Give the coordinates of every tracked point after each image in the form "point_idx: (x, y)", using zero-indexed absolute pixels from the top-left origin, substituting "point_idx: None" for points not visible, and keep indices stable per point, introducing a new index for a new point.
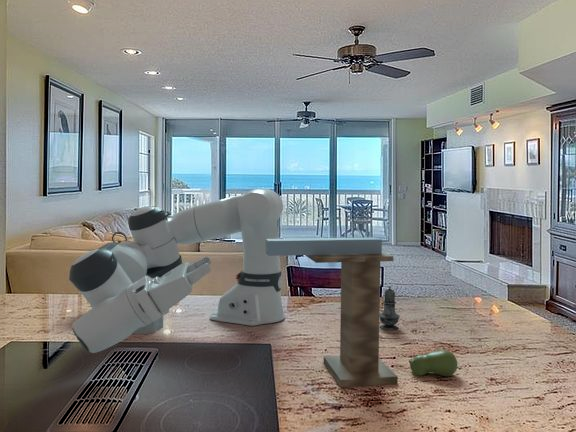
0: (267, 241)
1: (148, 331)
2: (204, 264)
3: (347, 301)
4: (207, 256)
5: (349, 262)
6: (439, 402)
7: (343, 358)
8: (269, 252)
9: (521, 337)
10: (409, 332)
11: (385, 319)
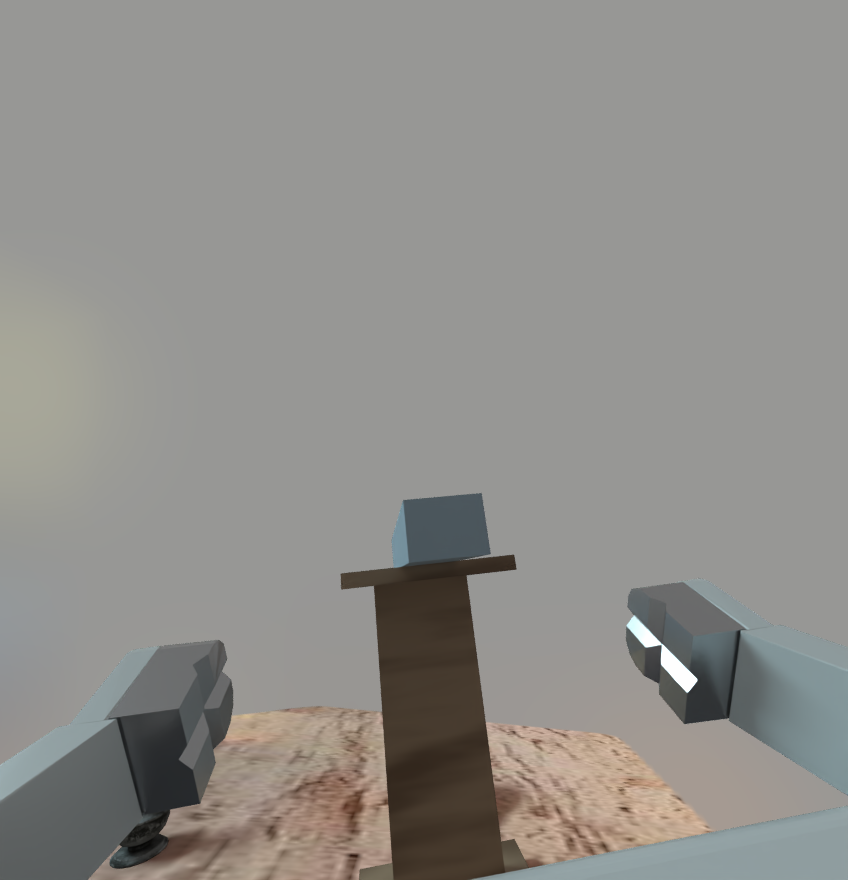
0: (462, 499)
1: None
2: (699, 589)
3: (445, 697)
4: (143, 649)
5: (446, 584)
6: (593, 814)
7: None
8: (487, 540)
9: (314, 730)
10: (202, 823)
11: (151, 824)
